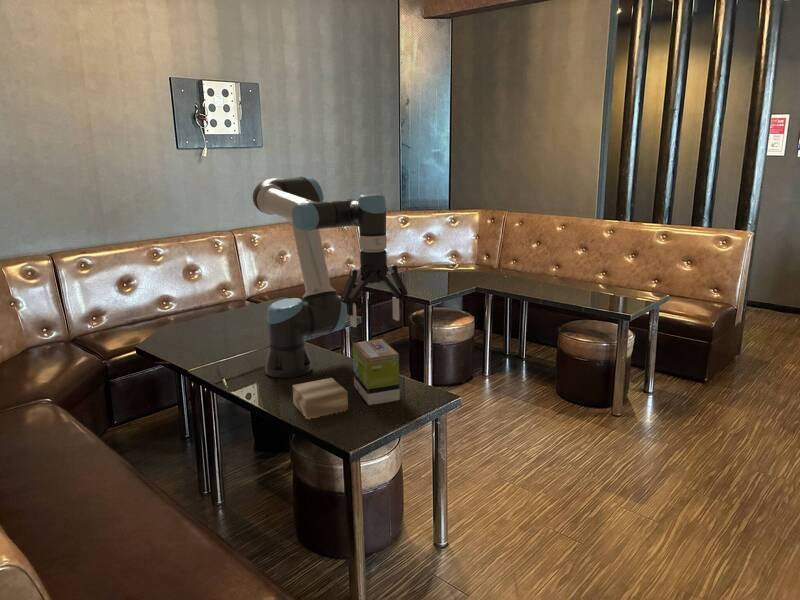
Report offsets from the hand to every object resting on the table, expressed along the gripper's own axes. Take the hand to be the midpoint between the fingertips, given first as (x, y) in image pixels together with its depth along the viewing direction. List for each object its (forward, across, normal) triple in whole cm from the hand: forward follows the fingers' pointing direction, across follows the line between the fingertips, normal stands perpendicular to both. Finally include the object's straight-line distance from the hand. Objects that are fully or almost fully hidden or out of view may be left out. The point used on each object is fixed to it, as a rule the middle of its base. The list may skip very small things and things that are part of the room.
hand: (375, 322), depth 174 cm
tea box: (+22, 0, 0) cm, 22 cm away
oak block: (+22, -18, 0) cm, 29 cm away
